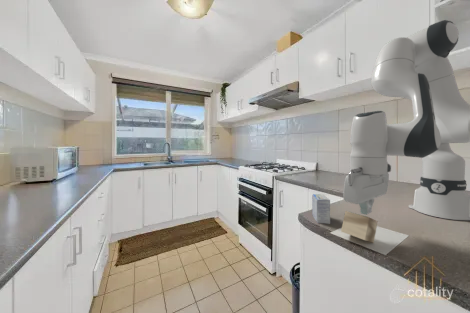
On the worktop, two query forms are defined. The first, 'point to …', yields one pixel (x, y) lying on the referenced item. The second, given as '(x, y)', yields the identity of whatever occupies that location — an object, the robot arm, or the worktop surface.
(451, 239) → the worktop surface
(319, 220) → the medicine box
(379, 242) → the white flat sheet
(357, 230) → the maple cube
